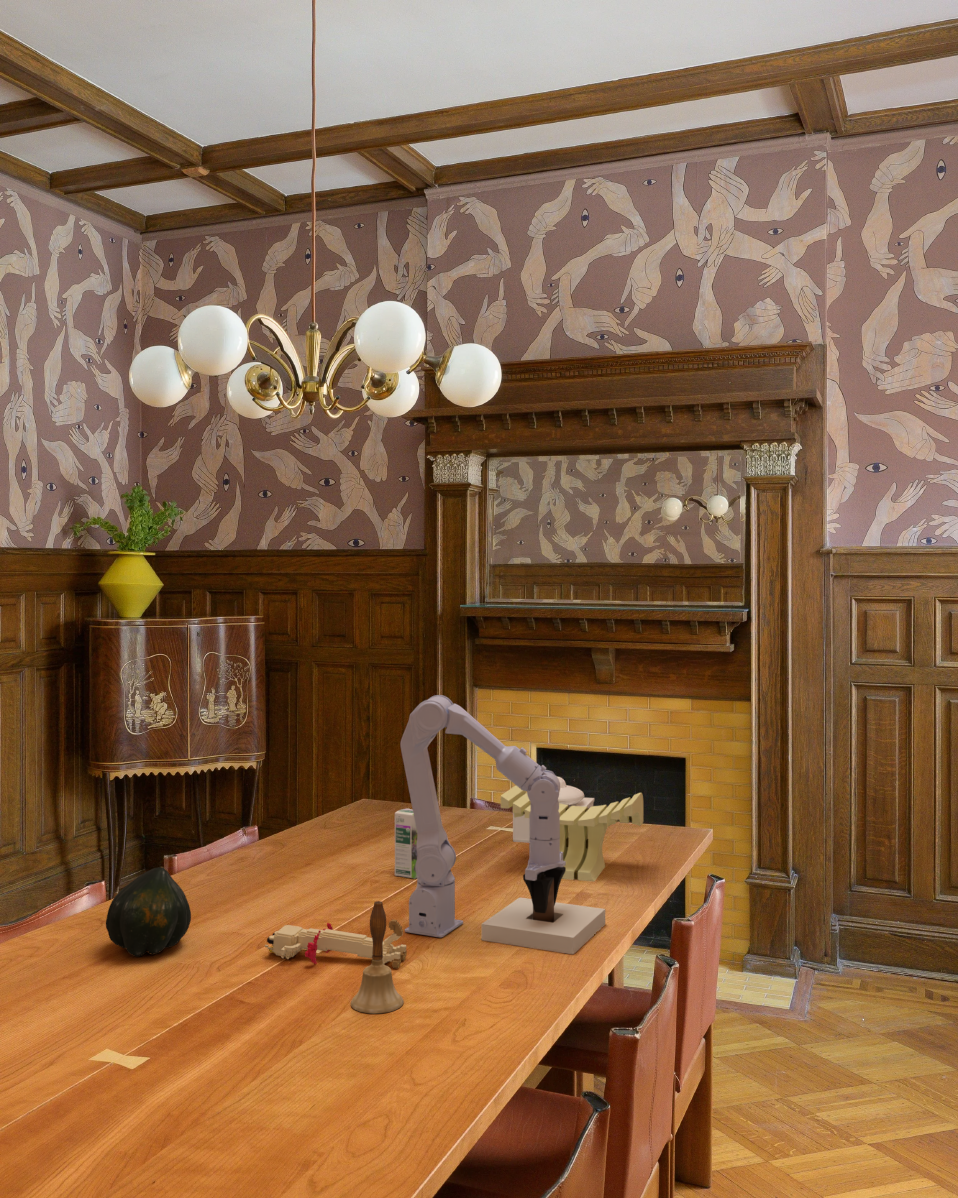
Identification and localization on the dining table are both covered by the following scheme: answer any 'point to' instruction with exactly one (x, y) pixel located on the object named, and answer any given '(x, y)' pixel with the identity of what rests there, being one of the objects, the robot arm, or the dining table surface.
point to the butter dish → (566, 796)
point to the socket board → (544, 926)
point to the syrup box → (405, 844)
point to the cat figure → (334, 943)
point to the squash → (148, 914)
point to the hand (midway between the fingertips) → (544, 908)
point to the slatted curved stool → (581, 829)
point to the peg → (550, 908)
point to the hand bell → (377, 973)
